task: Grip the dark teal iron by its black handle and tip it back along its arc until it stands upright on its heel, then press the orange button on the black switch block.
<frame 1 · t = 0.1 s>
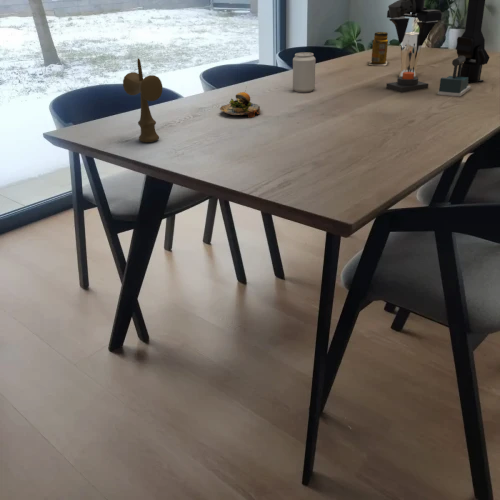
hand: (410, 44, 163), 15 cm above the table, tool pointing down, fingers open, 9 cm apart
kendama: (149, 141, 132), on the table
beer glass: (407, 77, 190), on the table
power button: (408, 76, 172), point 4 cm above the table, slide at 0.1 cm
iron: (456, 74, 164), point 5 cm above the table, hinge at -0.1°
switch block: (406, 88, 174), on the table
burger: (240, 114, 153), on the table
condiment: (377, 64, 216), on the table
can: (303, 91, 177), on the table
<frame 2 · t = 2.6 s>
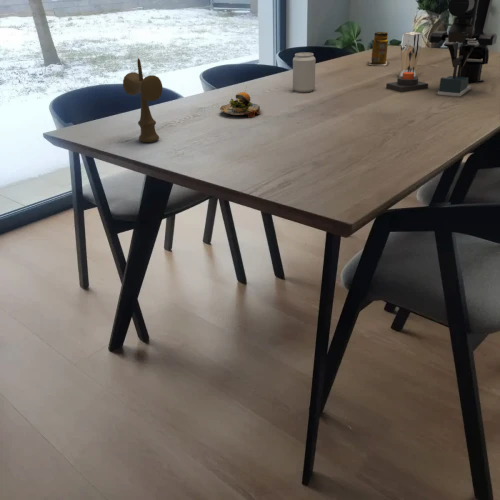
hand: (457, 67, 163), 8 cm above the table, tool pointing down, fingers closed on iron, 2 cm apart
iron: (456, 74, 164), point 5 cm above the table, hinge at -0.1°, touching gripper
everything else where it was.
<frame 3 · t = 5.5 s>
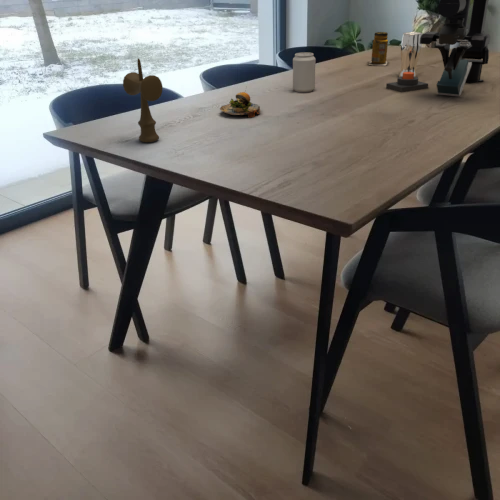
hand: (450, 69, 157), 9 cm above the table, tool pointing down, fingers closed on iron, 2 cm apart
iron: (453, 68, 159), point 8 cm above the table, hinge at 43.8°, touching gripper
everything else where it was.
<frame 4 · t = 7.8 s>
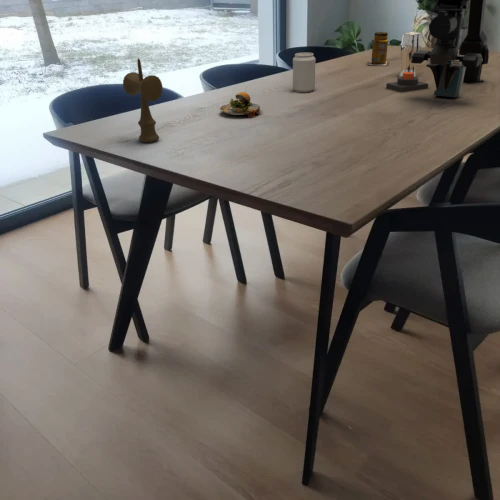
hand: (441, 88, 155), 4 cm above the table, tool pointing down, fingers closed on iron, 2 cm apart
iron: (447, 75, 156), point 7 cm above the table, hinge at 81.2°, touching gripper
everything else where it was.
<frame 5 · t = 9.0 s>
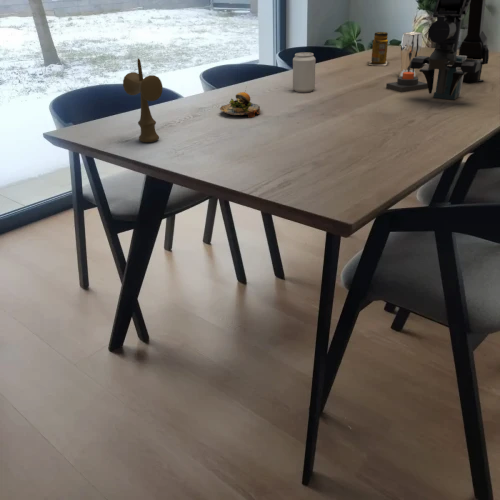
hand: (440, 94, 155), 2 cm above the table, tool pointing down, fingers open, 6 cm apart
iron: (446, 78, 156), point 6 cm above the table, hinge at 88.8°
everything else where it was.
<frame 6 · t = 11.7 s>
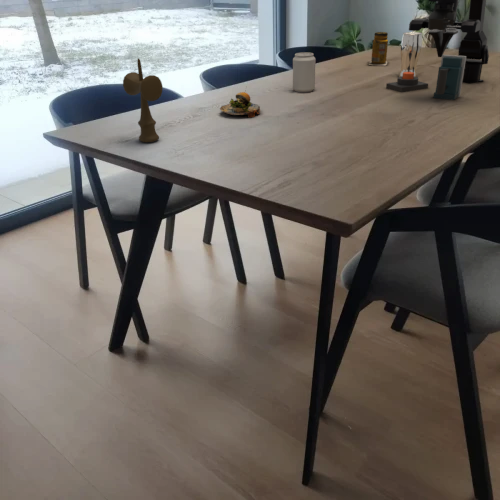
hand: (439, 56, 153), 13 cm above the table, tool pointing down, fingers closed
iron: (446, 78, 156), point 6 cm above the table, hinge at 90.1°
everything else where it was.
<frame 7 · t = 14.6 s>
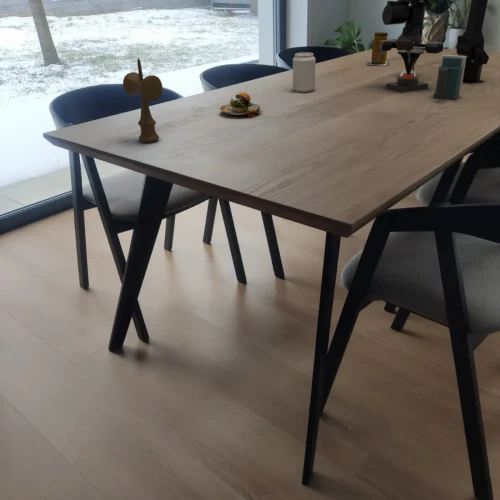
hand: (408, 73, 171), 5 cm above the table, tool pointing down, fingers closed, pressing on power button
power button: (408, 77, 172), point 4 cm above the table, slide at -0.3 cm, touching gripper
everything else where it was.
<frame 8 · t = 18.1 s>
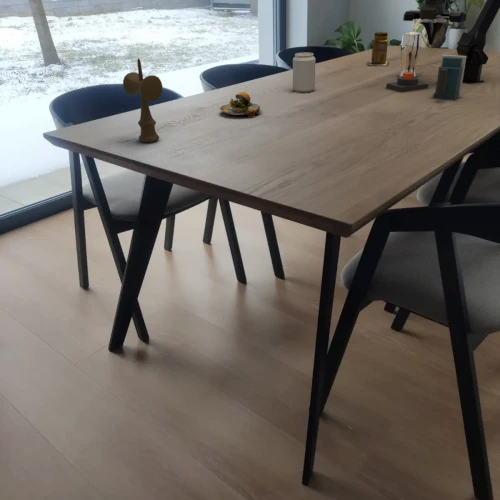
hand: (430, 44, 171), 13 cm above the table, tool pointing down, fingers closed
power button: (408, 76, 172), point 4 cm above the table, slide at 0.1 cm
everything else where it was.
at the end: iron at +90° (first picture: +0°); power button pushed in 1.1 cm at the most during the clip, back to where it started at the end; power button slide at 0.1 cm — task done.
